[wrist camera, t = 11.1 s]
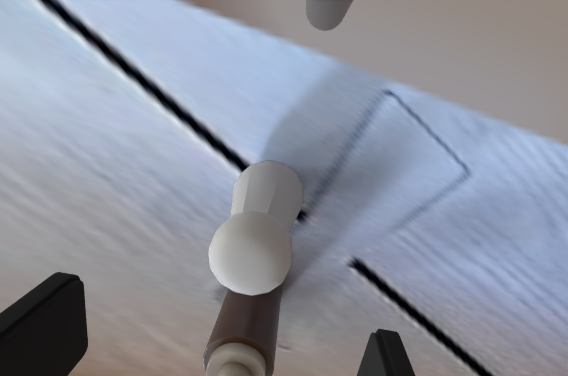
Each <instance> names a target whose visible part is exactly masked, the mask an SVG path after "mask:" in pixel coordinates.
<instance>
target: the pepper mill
mask: <svg viewBox="0 0 568 376" xmlns="http://www.w3.org/2000/svg"><path fill="white" fill-rule="evenodd" d="M281 292H282V286H281V284H280V285H279V286H277V287H276V288H274V289H273V290H271V291H270V292H267V293H262V294H258V295H253V296H251V295H247V294H242V293H237V292H234V291H232V290H231V289H228V292H227V294H226V297H225V300H224V302H223V305H222V307H221V310H220V313H219V315H218V318H217V321H216V323H215V326H214V329H213V331H212V334H211V337H210V339H209V342H208V345H207V347H206V350H205V353H204V356H203V365H204V369H205V371H206V373H207V376H272V374H273V370H274V361H275V351H276V341H277V331H278V321H279V311H280V302H281Z"/></svg>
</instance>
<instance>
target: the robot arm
mask: <svg viewBox="0 0 568 376" xmlns="http://www.w3.org/2000/svg"><path fill="white" fill-rule="evenodd" d="M87 347H88V337H87V323H86V310H85V296H84V284H83V282H82V281H80V278H79V276H77V275H73V274H67V273H61V272H57V273H55V274H53V275H52V276H50V277H49V278H47V279H46V280H45V281H43V282H42V283H41V284H39V285H38V286H37V287H35V288H34V289H33V290H31V291H30V292H29V293H27V294H26V295H24V296H23V297H22V298H20V299H19V300H18V301H16V302H15V303H14V304H12V305H11V306H10V307H8V308H7V309H5V310H4V311H3V312H1V313H0V376H67V375H68V374H69V373H70V372H71V371H72V369H73V368H74V367H75V366H76V365H77V363H78V362H79V361H80V360H81V358H82V357H83V356H84V354H85V352H86V350H87ZM357 376H415V374H414V371H413V369H412V366H411V364H410V361H409V359H408V356H407V353H406V351H405V348H404V346H403V343H402V341H401V338H400V336H399V334H398V333H397V332H394V331H389V330H383V329H378V330H377V332H376V333H371V335H370V338H369V341H368V344H367V347H366V350H365V353H364V356H363V359H362V362H361V365H360V368H359V371H358V374H357Z"/></svg>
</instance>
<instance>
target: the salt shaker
mask: <svg viewBox="0 0 568 376" xmlns="http://www.w3.org/2000/svg"><path fill="white" fill-rule="evenodd" d="M303 203H304V187H303V185H302V183H301V181H300V179H299V177H298V176H297V174H296V172H295V171H293V170H292V169H291V168H289V167H288V166H287V165H285V164H284V163H280V162H275V161H270V160H267V161H263V162H259V163H254V164H251V165H250V166H249V167H248V168H247V169H246V170H245V171H243V172H242V173H241V174H240V176H239V178H238V180H237V183H236V185H235V187H234V192H233V200H232V209H231V217H230V218H229V219H228V220H226V221H225V222H224V223H223V224H222V225H220V227H219V228H218V229H217V230H216V233H215V235H214V237H213V240H212V242H211V245H210V248H209V252H208V253H209V260H210V267H211V270H212V271H213V273H214V274H215V276H216V278H217V279H218V281H219V282H220V283H221V284H223V285H224V286H226V287H228V288H229V289H231V290H232V291H234V292H237V293H242V294H247V295H251V296H253V295H258V294H262V293H267V292H270V291H271V290H273V289H274V288H276V287H277V286H279V285H280V284H282V283H283V281H284V279H285V277H286V275H287V273H288V271H289V269H290V266H291V264H292V239H291V237H290V236H289V232H290V230H291V228H292V226H293V224H294V222H295V220H296V218H297V216H298V214H299V212H300V209H301V207H302V205H303Z"/></svg>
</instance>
